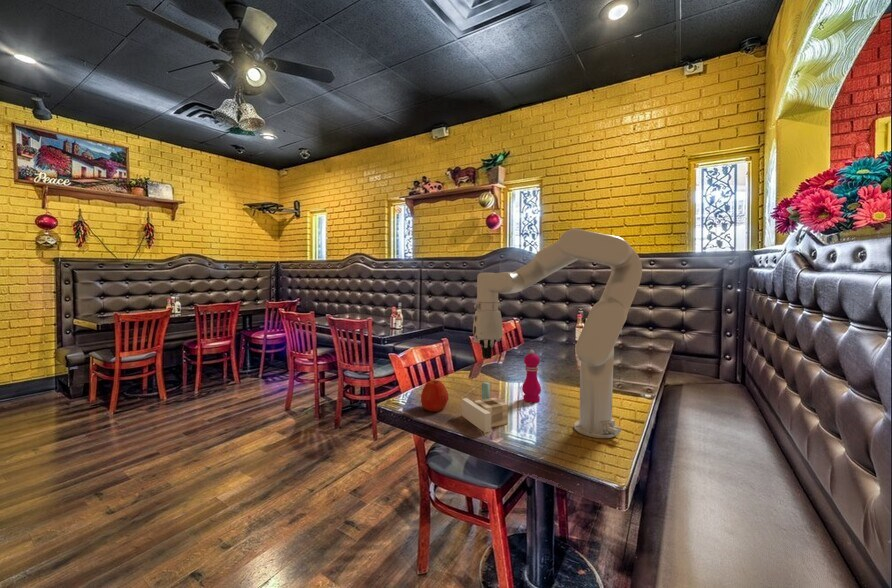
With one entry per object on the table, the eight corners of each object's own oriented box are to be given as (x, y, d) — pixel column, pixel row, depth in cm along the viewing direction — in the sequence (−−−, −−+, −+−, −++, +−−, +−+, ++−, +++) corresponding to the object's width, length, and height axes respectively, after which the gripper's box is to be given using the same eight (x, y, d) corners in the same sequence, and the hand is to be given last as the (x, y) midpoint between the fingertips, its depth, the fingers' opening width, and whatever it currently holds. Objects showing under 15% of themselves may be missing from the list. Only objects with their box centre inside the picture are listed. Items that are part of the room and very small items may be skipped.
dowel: (491, 411, 134) (491, 383, 134) (484, 412, 133) (484, 384, 133) (487, 408, 137) (487, 381, 137) (480, 409, 136) (480, 382, 135)
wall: (490, 431, 116) (490, 412, 116) (485, 432, 115) (485, 413, 115) (466, 414, 131) (466, 398, 131) (461, 415, 130) (461, 398, 130)
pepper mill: (539, 397, 149) (539, 348, 149) (542, 403, 142) (542, 351, 141) (521, 397, 150) (521, 348, 149) (523, 403, 143) (523, 351, 142)
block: (507, 424, 122) (507, 404, 122) (486, 428, 119) (486, 408, 119) (494, 415, 130) (494, 397, 129) (474, 419, 126) (474, 400, 126)
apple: (454, 408, 137) (453, 380, 137) (433, 415, 130) (433, 386, 130) (435, 401, 145) (435, 375, 144) (414, 408, 138) (414, 380, 137)
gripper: (474, 308, 127) (473, 362, 128) (511, 307, 133) (510, 358, 134) (464, 306, 134) (463, 357, 134) (499, 305, 140) (498, 354, 141)
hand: (486, 357), depth 134 cm, fingers closed
